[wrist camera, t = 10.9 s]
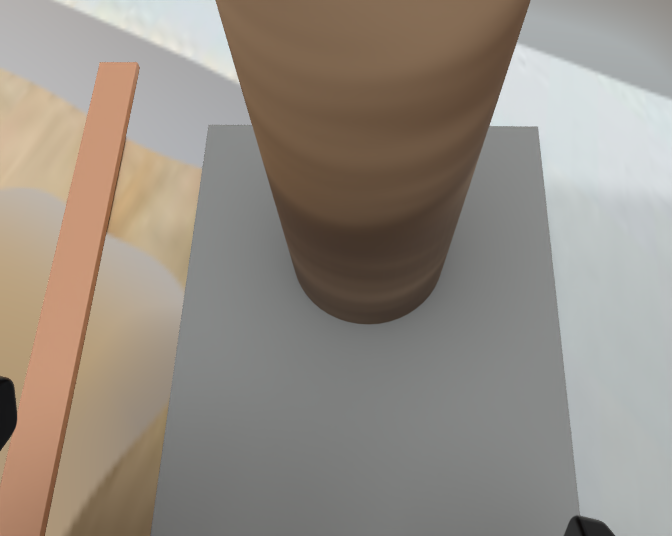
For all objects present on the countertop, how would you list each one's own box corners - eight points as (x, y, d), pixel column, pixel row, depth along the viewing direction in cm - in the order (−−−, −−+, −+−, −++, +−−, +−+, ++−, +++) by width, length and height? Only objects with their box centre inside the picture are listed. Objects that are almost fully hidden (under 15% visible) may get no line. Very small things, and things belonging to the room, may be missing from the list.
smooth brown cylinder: (383, 355, 18) (431, -24, 5) (262, 265, 19) (60, -214, 7) (473, 238, 19) (688, -292, 7) (353, 162, 21) (336, -405, 8)
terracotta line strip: (20, 655, 16) (13, 658, 16) (-34, 652, 16) (-40, 655, 16) (139, 67, 23) (136, 62, 23) (103, 67, 23) (100, 62, 23)
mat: (579, 558, 16) (584, 560, 16) (154, 539, 17) (149, 540, 16) (534, 133, 21) (537, 126, 21) (211, 131, 22) (208, 124, 22)
